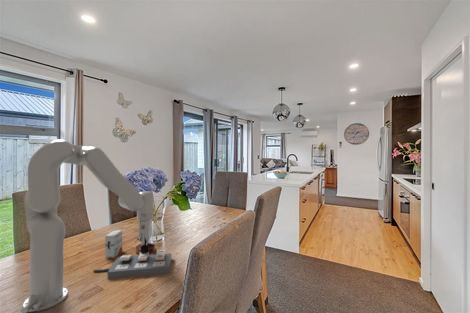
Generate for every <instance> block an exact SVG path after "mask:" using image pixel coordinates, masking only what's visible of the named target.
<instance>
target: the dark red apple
mask: <svg viewBox="0 0 470 313" xmlns="http://www.w3.org/2000/svg"><path fill="white" fill-rule="evenodd" d="M136 240H137V241H139V237H137V238H136ZM148 244H149V251H148V252H149V255H152V254H153V253H154V252H155V250H156V249H155V247H156V245H155V243H154V242H148ZM140 252H141V243H140V244H138V245H137V246H136V247H135V254H136V255H137V256H139V254H140Z"/></svg>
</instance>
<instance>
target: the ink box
mask: <svg viewBox="0 0 470 313" xmlns="http://www.w3.org/2000/svg"><path fill="white" fill-rule="evenodd" d="M104 240H105V243H104V246H105V247H104V248H105V251H104V254H105V257H104V258H106V259H107V258H108V259H109V258H113V259H114V258H116V257H117V256H118V255H119V254H121V253H122V251H123V230H121V229H119V230H113V231H111V232H109V233H108V234H106V235H105V238H104Z"/></svg>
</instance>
